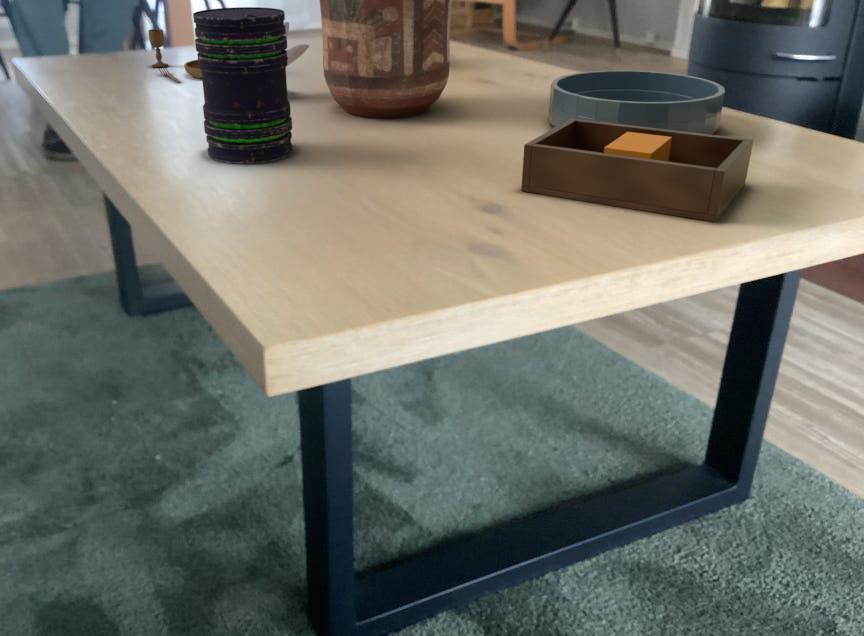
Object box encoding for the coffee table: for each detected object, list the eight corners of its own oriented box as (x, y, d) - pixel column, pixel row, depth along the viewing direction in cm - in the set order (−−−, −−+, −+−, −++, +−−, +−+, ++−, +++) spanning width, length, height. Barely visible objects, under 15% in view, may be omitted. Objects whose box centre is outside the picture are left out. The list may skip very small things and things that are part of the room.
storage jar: (193, 149, 100) (177, 11, 93) (269, 137, 105) (260, 5, 98) (229, 169, 93) (215, 21, 86) (309, 155, 98) (302, 13, 90)
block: (666, 176, 87) (672, 136, 85) (645, 195, 82) (651, 153, 80) (622, 170, 89) (627, 131, 87) (599, 188, 84) (604, 147, 82)
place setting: (178, 85, 134) (173, 45, 131) (146, 66, 150) (141, 30, 147) (283, 75, 141) (281, 36, 138) (242, 57, 157) (240, 22, 154)
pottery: (433, 127, 108) (435, -30, 100) (303, 119, 113) (295, -32, 105) (464, 99, 123) (469, -40, 115) (348, 92, 128) (345, -41, 119)
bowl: (733, 119, 111) (741, 78, 108) (693, 156, 96) (701, 110, 93) (581, 102, 120) (585, 65, 118) (522, 134, 105) (525, 92, 103)
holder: (744, 185, 86) (753, 139, 84) (715, 222, 76) (724, 171, 74) (567, 160, 94) (571, 118, 92) (520, 191, 85) (524, 144, 83)
